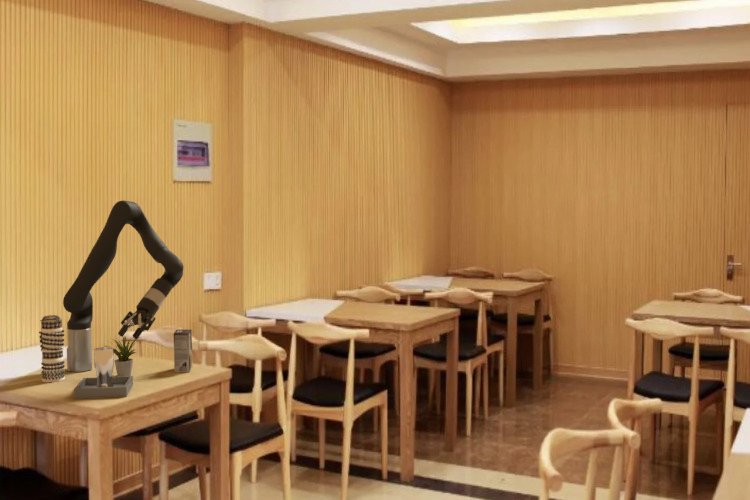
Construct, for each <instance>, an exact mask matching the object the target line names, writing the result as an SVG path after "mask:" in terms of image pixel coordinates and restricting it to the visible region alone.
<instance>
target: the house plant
mask: <svg viewBox="0 0 750 500" xmlns="http://www.w3.org/2000/svg"><path fill="white" fill-rule="evenodd" d="M133 338H134V337H133V336H132V339H133ZM140 338H141V336H139V337H138V338H137V339H135V338H134V339H133V340H132V341H131V338H130V339H128V340H127V335H124V336H123V337H122V342H121V340H119V339H118V338H117V337H115V339H113V338H111V341H113V342H114V343H115V344H116V346H115V344H113V343H112V342H111V344H112V345H114V346H115V347H116V348H117V349H116V348H114V347H112V348H113V353H114V355H115V356H116V357H117V358H118V359H117V358H116V359H114V367H115V369H116V370H115V371H116V374H117V376H116V377H120V376H132V369H133V363H134V359H133V358H130V357H131V355H133V354H134V355H135V354H137V352H135V351H136V349H132V347H134V345H135V344H136V343H137V341H138V339H140ZM130 341H131V342H130ZM107 342H109V343H110V341H108V340H107ZM126 342H127V343H126ZM130 343H131V344H130ZM104 347H110V346H108V345H104Z"/></svg>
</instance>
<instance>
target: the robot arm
mask: <svg viewBox="0 0 750 500" xmlns="http://www.w3.org/2000/svg"><path fill="white" fill-rule="evenodd" d="M125 225H130V226H131V227H132V228H133V229H134V230H135V231H136V232H137V233H138V235H139V236H140V239H141V242H142V245H143V247H144V248H145V250H146V251H147V253H148V254H149V255H150V257H151V258H152V259H153V260H154V261H155V262H156V263H157V264H160V265H161V266H163V268H164V272H163V274H162V275H161V276H160V277H158V278H157V279H156V280H155V281H154V282H153V284H152V285H151V286H150V288H149V289H148V290H147V291H146V292H145V294H144V295H142V298H141V299H140V301H139V302H138V303H137V305H136V311H134V312H132V311H131V310H130V311H128V312H127V314H126V315H125V316H124V318H123V319H122V320H121V321H120V324H121V325H122V327H121V328H120V329H119V331H118V333H117V334H118V335H119V336H120V337H122V338H123V337H125V334H126V333H127V331H128V330H129V329H130V328H131V327H135V326H138V327H137V328H136V330H134V333H133V334H132V338H133V337H134V340H135V339H137V338H138V337H141V335H142V333H143V332H145V331H147V332H148V331H149V330H150V329H151V327H152V325H153V324H154V323H155V320H156V317H155V316H156V314H157V313H158V311H159V309H160V308H161V307H162V305H163V303H164V302H165V300H166V299H167V297H168V296H169V294H170V293H171V291H172V289H174V288H175V286H177V284H178V283H179V282H180V281H181V279H182V278H183V276H184V264H183V262H182V260H181V259H180V258H179V257H178V256H177V255H176V254H175V253H174V252H173V251H171V250H170V248H169V247H168V246H167V245H166V243H164V241H163V240H162V239H161V238H160V236H159V235H158V234H157V232H156V231H155V229H154V228H153V227H152V225H151V223H150V221H149V220H148V218H147V216H146V215H145V213H144V211H143V209H142V207H140V205H139V204H138V203H137V202H134V201H131V200H130V201H129V200H119V201H117V202H116V203H115V204H114V205H113V206H112V208H111V211H110V212H109V215H108V217H107V220H106V222H105V224H104V227H103V228H102V231H101V232H100V234H99V236H98V238H97V240H96V242H95V244H94V245H93V246H92V248H91V250H90V253H88V256H87V258H86V259H85V262H84V263H83V265H82V268H81V269H80V271H79V273H78V275H77V277H76V278H75V280H74V282H73V283H72V284H71V286H70V287H69V289H68V290H67V292H66V293H65V295H64V297H63V299H62V300H63V301H62V305H63V307H64V308H63V309H64V310H65V311H66V312H68V313H70V318H69V319H68V320H67V323H66V330H67V348H66V366H67V370H66V371H67V372H76V373H77V372H79V373H80V372H89V371H91V370H92V369H93V351H92V350H93V349H92V347H93V346H92V322H93V314H94V312H93V309H94V305H93V304H94V300H93V296H92V294H91V290H92V289H93V287H94V285H95V284H96V283H97V282H98V281H99V280H100V279H101V277H103V275H104V274H105V273H106V272H107V271H108V269H109V268H110V266H111V265H112V262H113V261H114V260H115V257H116V254H117V252H118V251H117V250H118V239H119V236H120V234H121V232H122V230H123V229H124V227H125ZM138 339H139V338H138ZM138 339H137V340H138Z"/></svg>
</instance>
